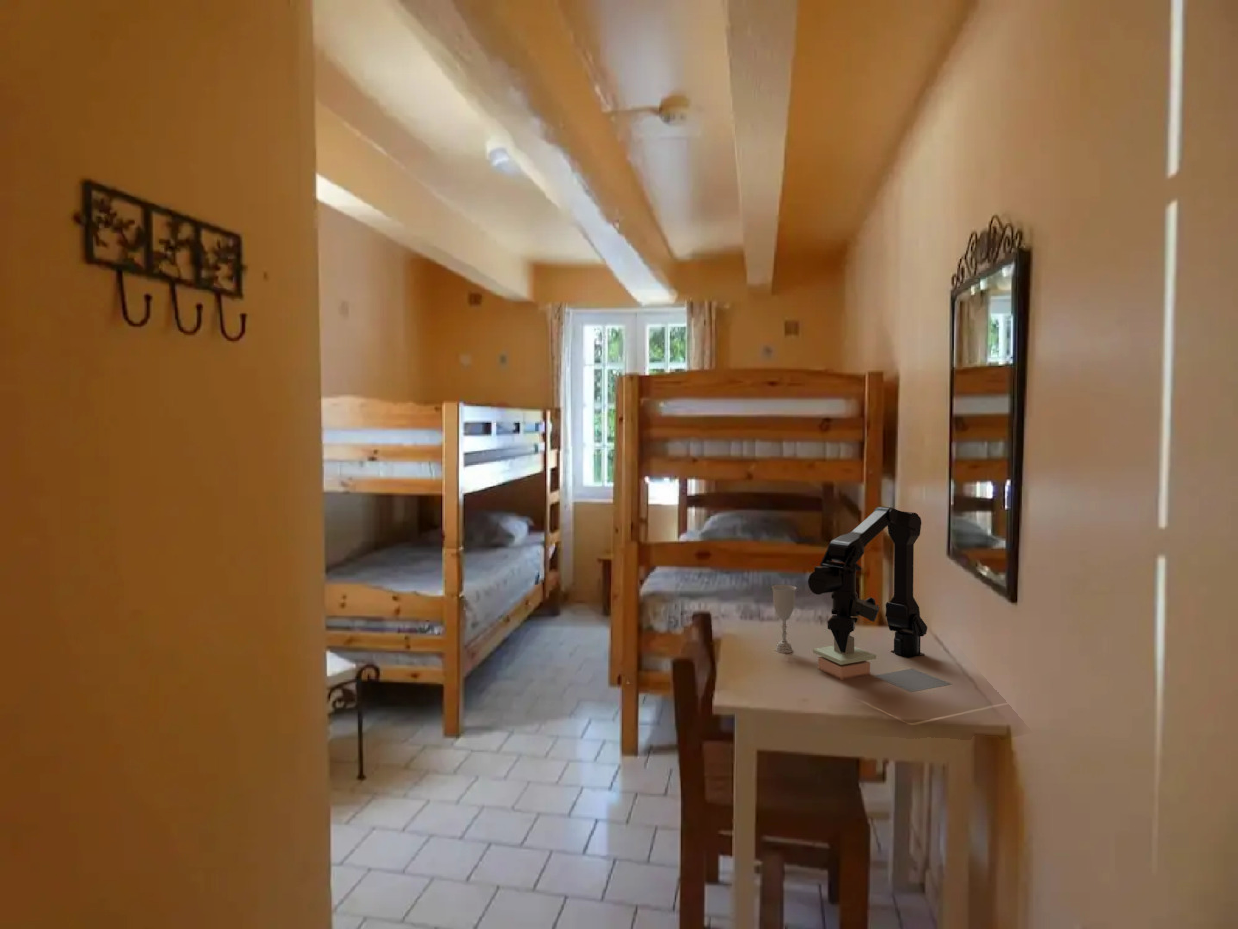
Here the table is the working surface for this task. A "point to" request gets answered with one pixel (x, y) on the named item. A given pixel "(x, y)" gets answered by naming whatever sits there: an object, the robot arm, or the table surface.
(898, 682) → the mat
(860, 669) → the dish
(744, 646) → the table surface
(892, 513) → the robot arm
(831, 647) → the lid
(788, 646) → the chalice
